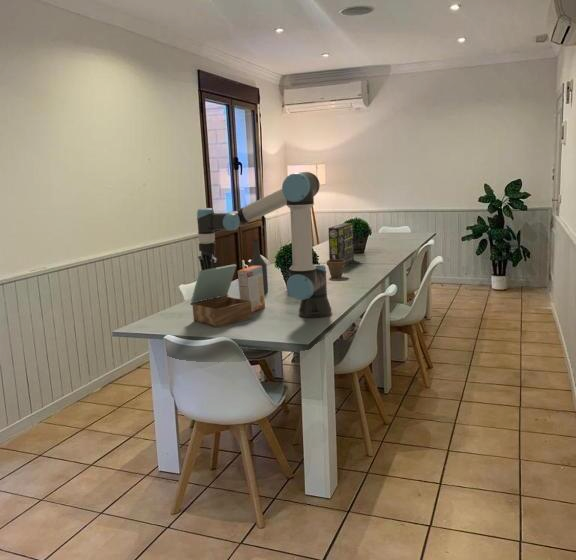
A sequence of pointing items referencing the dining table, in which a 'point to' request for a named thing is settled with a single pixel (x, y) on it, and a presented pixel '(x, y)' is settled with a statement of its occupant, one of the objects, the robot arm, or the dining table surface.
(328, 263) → the flower pot
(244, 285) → the cracker box
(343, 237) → the box
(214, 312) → the walnut chest
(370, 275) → the dining table surface
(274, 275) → the dining table surface
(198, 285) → the lid
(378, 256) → the dining table surface
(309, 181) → the robot arm
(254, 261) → the bottle
